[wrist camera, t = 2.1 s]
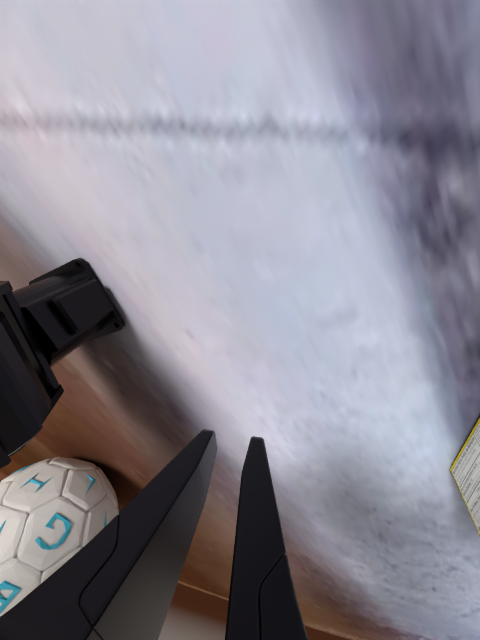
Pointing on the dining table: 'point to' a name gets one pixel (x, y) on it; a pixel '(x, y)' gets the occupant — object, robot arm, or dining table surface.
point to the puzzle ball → (48, 521)
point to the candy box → (469, 474)
